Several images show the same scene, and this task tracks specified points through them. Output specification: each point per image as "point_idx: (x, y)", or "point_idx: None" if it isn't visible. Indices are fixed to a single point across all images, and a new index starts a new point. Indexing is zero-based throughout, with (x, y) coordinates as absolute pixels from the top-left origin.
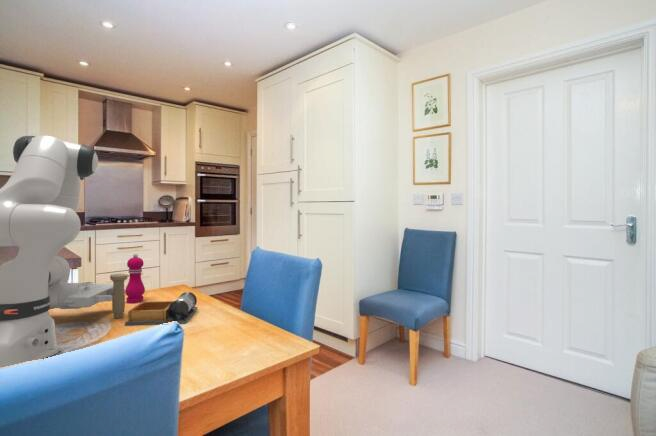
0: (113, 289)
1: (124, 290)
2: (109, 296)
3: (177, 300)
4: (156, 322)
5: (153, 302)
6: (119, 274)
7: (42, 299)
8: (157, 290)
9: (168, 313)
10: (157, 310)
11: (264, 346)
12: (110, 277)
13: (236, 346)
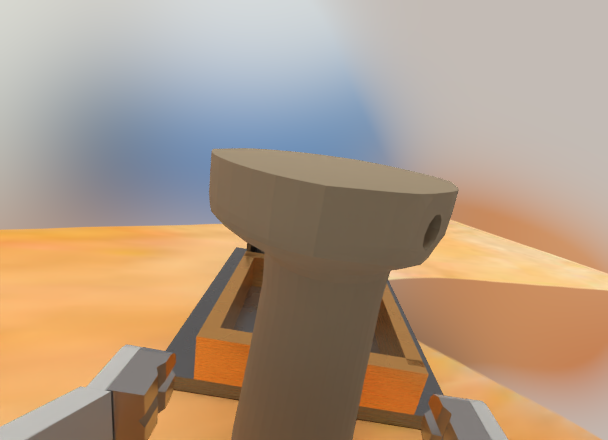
0: (358, 369)
1: (148, 351)
2: (489, 418)
3: None
4: (406, 321)
5: (234, 299)
6: (295, 160)
7: None
8: None
9: None
10: (386, 288)
11: (464, 235)
12: (421, 226)
13: (480, 249)
